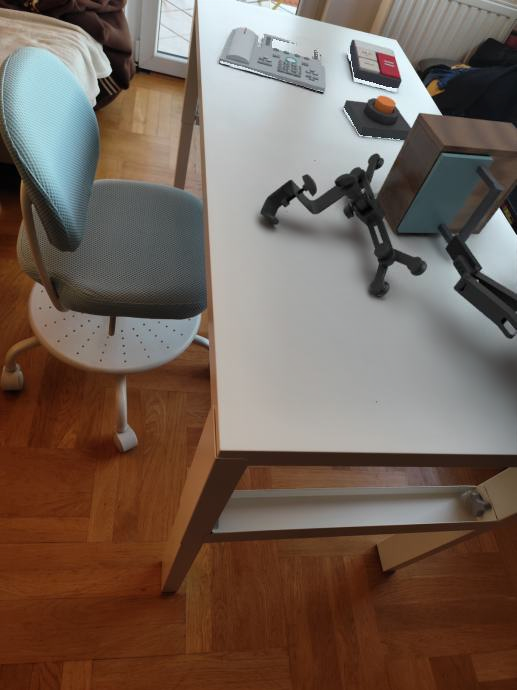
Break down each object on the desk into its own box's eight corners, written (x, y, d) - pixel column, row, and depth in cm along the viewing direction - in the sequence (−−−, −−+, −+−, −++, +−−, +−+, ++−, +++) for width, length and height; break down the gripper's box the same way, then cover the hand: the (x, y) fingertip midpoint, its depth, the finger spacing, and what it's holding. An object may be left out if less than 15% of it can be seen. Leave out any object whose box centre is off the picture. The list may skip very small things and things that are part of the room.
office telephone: (220, 51, 100) (232, 17, 113) (218, 65, 102) (230, 29, 115) (327, 82, 103) (328, 45, 115) (323, 94, 105) (324, 56, 117)
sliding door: (441, 230, 83) (491, 156, 72) (459, 257, 79) (514, 184, 68) (396, 229, 80) (441, 152, 69) (413, 257, 76) (463, 181, 65)
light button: (387, 104, 101) (391, 96, 100) (395, 115, 99) (398, 107, 98) (370, 103, 100) (374, 94, 98) (378, 113, 98) (381, 105, 96)
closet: (457, 203, 91) (511, 122, 79) (479, 233, 86) (540, 153, 74) (374, 200, 85) (419, 112, 73) (393, 232, 80) (444, 145, 68)
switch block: (390, 115, 107) (398, 97, 104) (409, 141, 101) (418, 123, 98) (342, 110, 103) (349, 91, 100) (359, 137, 98) (367, 118, 94)
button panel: (359, 66, 110) (353, 35, 118) (351, 84, 113) (346, 53, 122) (403, 78, 112) (394, 47, 120) (395, 96, 115) (387, 64, 124)
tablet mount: (328, 326, 74) (429, 270, 66) (269, 280, 65) (378, 208, 57) (303, 212, 90) (382, 156, 82) (253, 162, 81) (336, 93, 72)
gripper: (478, 386, 58) (406, 261, 70) (622, 369, 67) (536, 259, 78) (519, 350, 53) (432, 220, 64) (671, 336, 61) (570, 223, 72)
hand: (489, 241), depth 71 cm, fingers open, 13 cm apart
